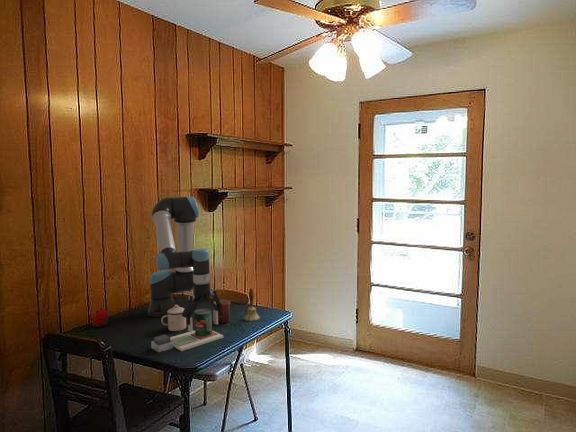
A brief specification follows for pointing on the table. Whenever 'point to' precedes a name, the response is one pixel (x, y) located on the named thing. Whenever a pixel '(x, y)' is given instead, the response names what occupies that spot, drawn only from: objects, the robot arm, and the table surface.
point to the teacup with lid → (175, 319)
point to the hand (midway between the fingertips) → (203, 327)
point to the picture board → (193, 340)
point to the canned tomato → (203, 322)
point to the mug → (224, 312)
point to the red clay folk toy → (100, 317)
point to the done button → (162, 339)
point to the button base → (162, 346)
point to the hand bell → (251, 309)
